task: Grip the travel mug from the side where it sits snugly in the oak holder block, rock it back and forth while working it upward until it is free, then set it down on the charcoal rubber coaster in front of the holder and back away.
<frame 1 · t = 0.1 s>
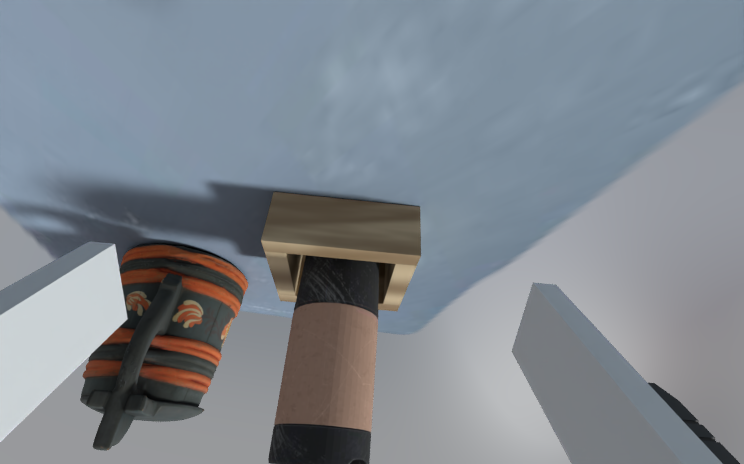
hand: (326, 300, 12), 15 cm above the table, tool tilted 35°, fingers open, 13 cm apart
travel mug: (345, 235, 38), resting in holder
holder: (345, 237, 38), on the table
beer stein: (188, 260, 45), on the table
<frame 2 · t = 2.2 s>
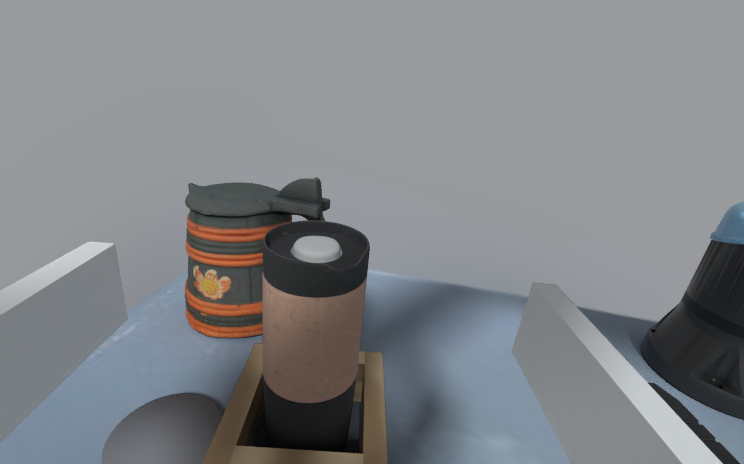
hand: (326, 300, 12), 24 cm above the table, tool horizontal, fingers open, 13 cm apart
travel mug: (307, 441, 33), resting in holder
holder: (307, 440, 33), on the table
beer stein: (259, 311, 51), on the table
coaster: (167, 441, 32), on the table
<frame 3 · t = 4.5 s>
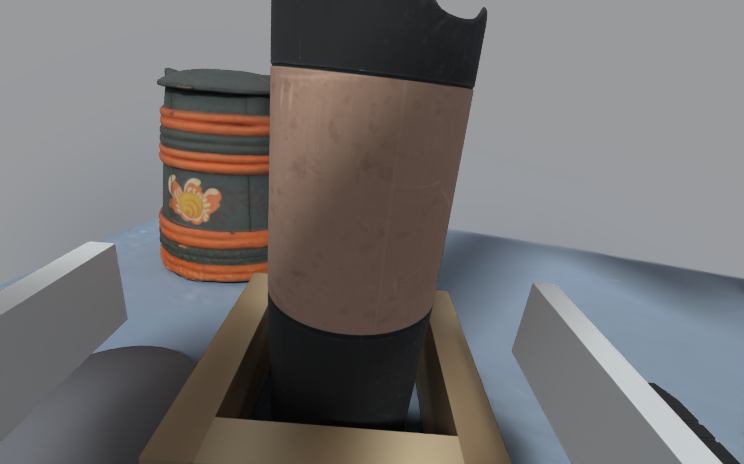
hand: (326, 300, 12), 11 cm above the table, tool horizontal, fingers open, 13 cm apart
travel mug: (338, 421, 20), resting in holder
holder: (338, 418, 20), on the table
beer stein: (261, 255, 38), on the table
coaster: (105, 416, 19), on the table
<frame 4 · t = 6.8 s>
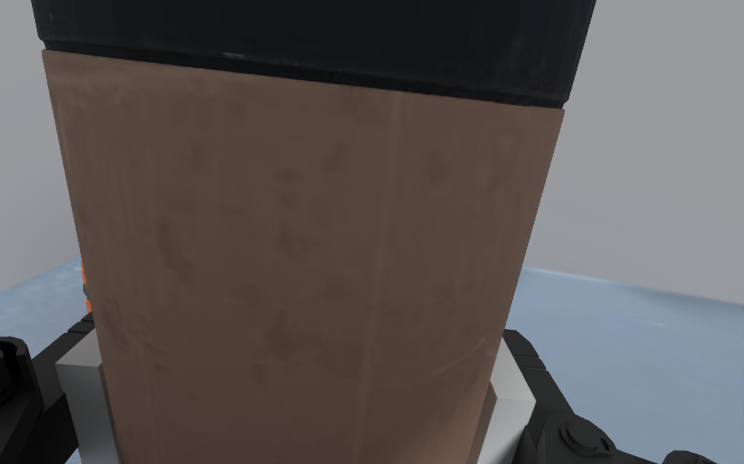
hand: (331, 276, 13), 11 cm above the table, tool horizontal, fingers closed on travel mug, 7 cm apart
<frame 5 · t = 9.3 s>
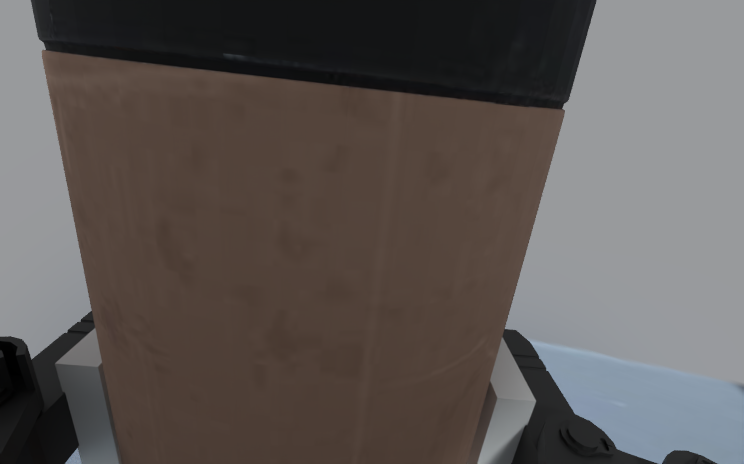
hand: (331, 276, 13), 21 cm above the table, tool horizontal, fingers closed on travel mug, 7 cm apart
when the fingers open (12 cm above the table, at t = 12.1 s): travel mug stays where it is, resting on coaster.
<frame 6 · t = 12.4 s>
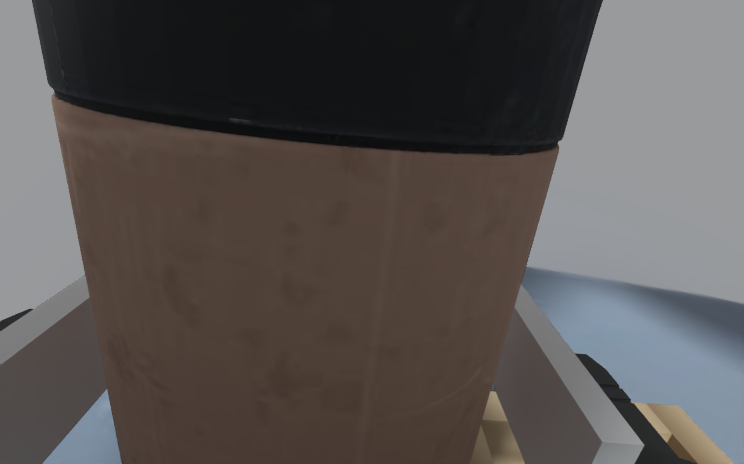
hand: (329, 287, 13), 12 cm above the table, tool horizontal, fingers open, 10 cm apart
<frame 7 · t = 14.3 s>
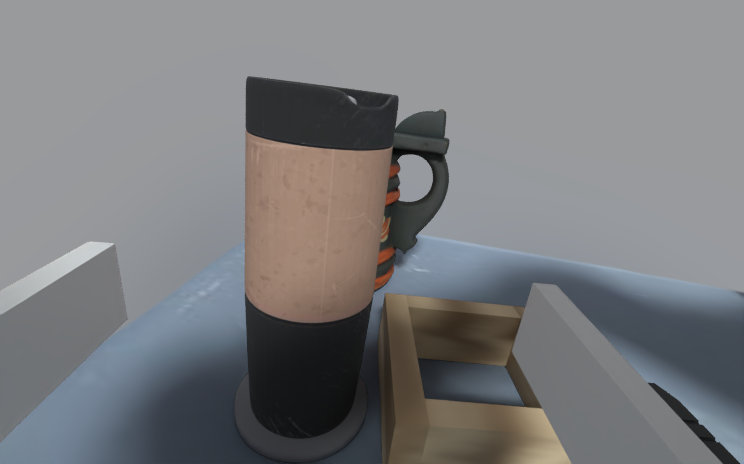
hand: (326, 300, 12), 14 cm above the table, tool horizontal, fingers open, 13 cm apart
travel mug: (303, 396, 25), point 1 cm above the table, touching coaster
holder: (466, 405, 27), on the table
beer stein: (349, 273, 45), on the table
coaster: (302, 402, 26), on the table
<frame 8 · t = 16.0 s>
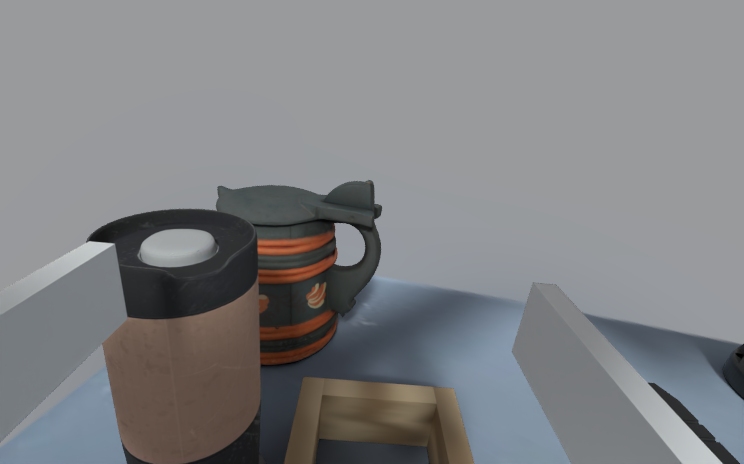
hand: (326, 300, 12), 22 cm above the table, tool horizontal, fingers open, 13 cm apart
beer stein: (293, 330, 45), on the table
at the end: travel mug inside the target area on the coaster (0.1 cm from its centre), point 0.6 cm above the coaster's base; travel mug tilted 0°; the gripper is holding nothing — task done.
